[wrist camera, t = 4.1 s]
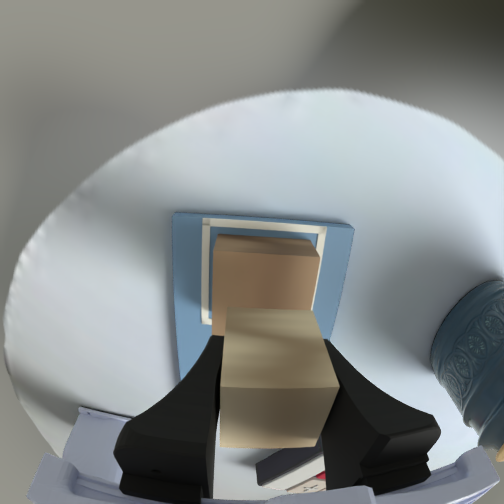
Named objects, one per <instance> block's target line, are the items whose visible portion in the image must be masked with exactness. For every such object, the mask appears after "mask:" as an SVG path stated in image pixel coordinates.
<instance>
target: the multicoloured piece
mask: <svg viewBox="0 0 504 504" xmlns="http://www.w3.org/2000/svg"><path fill="white" fill-rule="evenodd" d="M256 473H257V484H258V485H259V486H262V487H265V488H271V489H277V490H287V492H290V493H309V492H319V491H326V480H325V465H324V456H323V447H322V439H321V433H320V436H319V438H318V440H317V442H316V445H315V446H314V447H299V448H283V449H282V450H280V451H278V452H276V453H275V454H273V455H271V456H269V457H268V458H266V459H264V460H262V461H260V462H258V463H257V464H256Z"/></svg>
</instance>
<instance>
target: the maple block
mask: <svg viewBox="0 0 504 504" xmlns="http://www.w3.org/2000/svg"><path fill="white" fill-rule="evenodd" d="M339 387H340V386H339V383H338V380H337V377H336V374H335V372H334V369H333V366H332V363H331V360H330V357H329V354H328V351H327V348H326V346H325V343H324V340H323V337H322V334H321V332H320V329H319V326H318V323H317V321H316V318H315V315H314V312H313V310H282V309H259V308H240V307H227V314H226V325H225V336H224V348H223V359H222V371H221V384H220V447H229V448H299V447H314V446H315V445H316V442H317V440H318V438H319V436H320V433H321V431H322V429H323V427H324V424H325V422H326V420H327V417H328V415H329V412H330V410H331V407H332V405H333V403H334V400H335V397H336V395H337V392H338V390H339Z"/></svg>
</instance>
